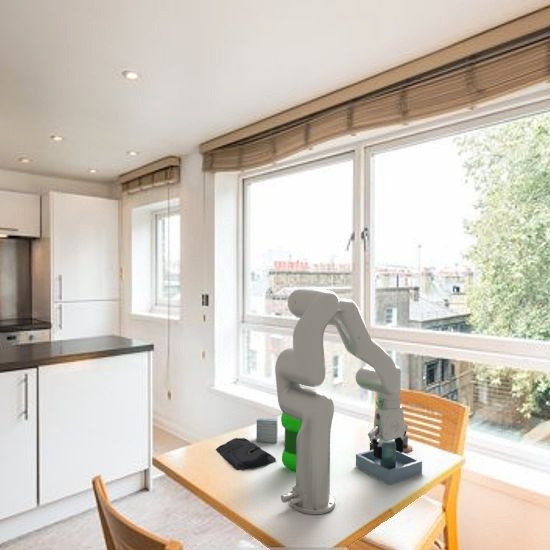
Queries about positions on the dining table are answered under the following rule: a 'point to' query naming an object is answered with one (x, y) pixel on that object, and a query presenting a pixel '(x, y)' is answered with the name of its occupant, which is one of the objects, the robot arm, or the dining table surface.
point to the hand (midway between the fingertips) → (388, 454)
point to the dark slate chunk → (244, 454)
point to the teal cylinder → (388, 454)
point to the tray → (403, 470)
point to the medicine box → (267, 429)
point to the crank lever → (405, 441)
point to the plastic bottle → (290, 441)
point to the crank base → (407, 449)
